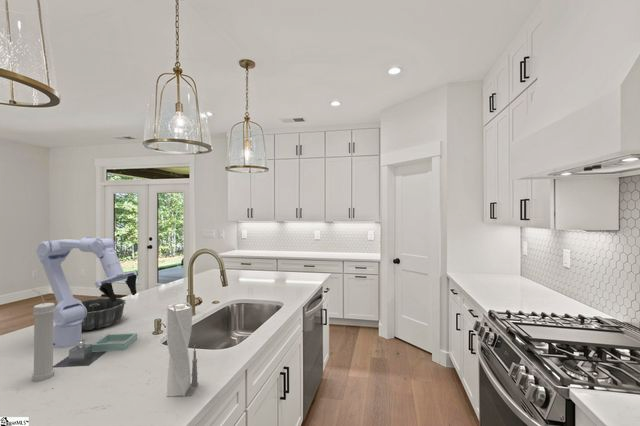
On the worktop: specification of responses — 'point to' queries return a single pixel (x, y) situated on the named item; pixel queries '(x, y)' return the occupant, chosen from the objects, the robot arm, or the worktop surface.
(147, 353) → the worktop surface
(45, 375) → the pipe
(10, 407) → the worktop surface
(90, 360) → the square lid with knob
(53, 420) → the worktop surface
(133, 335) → the bin
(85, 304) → the bundt pan
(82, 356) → the grey block
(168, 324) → the skyscraper
